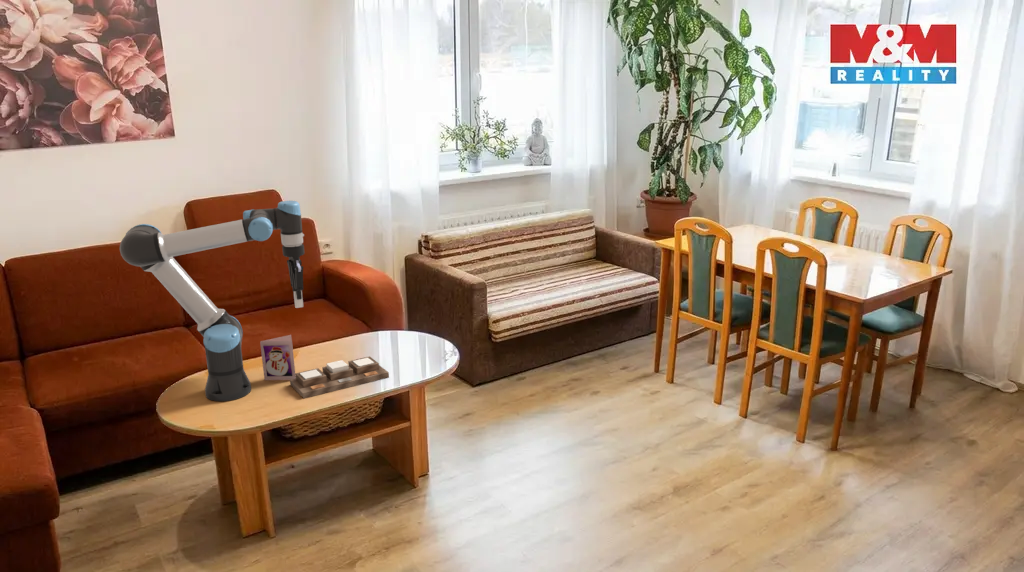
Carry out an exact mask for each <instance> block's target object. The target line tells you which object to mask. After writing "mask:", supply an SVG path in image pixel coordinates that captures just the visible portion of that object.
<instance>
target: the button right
mask: <svg viewBox="0 0 1024 572" xmlns="http://www.w3.org/2000/svg"><path fill="white" fill-rule="evenodd" d="M363 358H364V357H363ZM358 359H359V360H356V359H354V360H355V361H353V363H354V364H355V365H356V366H358V367H361V366H366V365H370V364H374V362H373V361H372V360H370V359H369V358H364V359H360V358H358Z"/></svg>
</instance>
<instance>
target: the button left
mask: <svg viewBox="0 0 1024 572" xmlns="http://www.w3.org/2000/svg"><path fill="white" fill-rule="evenodd" d="M314 369H315V370H312V369H310V370H311V371H308V370H306V371H307V372H303V371H301V372H302V373H300V376H301V377H302V378H303V379H304V380H306V379H311V378H315V377H319V376H322V374H320V373H319V372H318V371H317V370H316V368H314Z"/></svg>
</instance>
